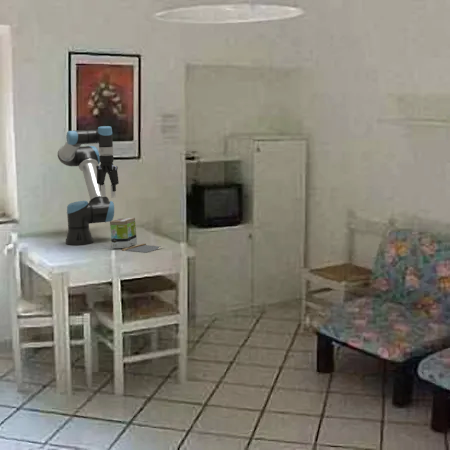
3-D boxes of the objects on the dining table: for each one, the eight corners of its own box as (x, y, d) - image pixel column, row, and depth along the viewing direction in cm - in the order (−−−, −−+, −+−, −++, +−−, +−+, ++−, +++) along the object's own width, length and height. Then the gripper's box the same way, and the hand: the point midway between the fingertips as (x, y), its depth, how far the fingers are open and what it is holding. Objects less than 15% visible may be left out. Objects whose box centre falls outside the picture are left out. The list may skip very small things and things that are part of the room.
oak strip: (121, 250, 406) (121, 249, 406) (143, 244, 421) (143, 243, 421) (124, 250, 405) (124, 249, 405) (145, 245, 420) (145, 243, 420)
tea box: (129, 247, 408) (126, 220, 406) (111, 248, 410) (108, 221, 408) (137, 243, 423) (135, 217, 421) (120, 244, 425) (117, 218, 423)
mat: (125, 250, 406) (125, 250, 406) (145, 245, 419) (145, 245, 419) (146, 252, 398) (146, 252, 398) (165, 247, 411) (165, 247, 411)
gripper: (88, 155, 417) (90, 197, 420) (115, 155, 406) (117, 198, 410) (97, 154, 423) (100, 195, 427) (124, 154, 412) (126, 197, 416)
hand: (108, 197), depth 418 cm, fingers open, 6 cm apart
